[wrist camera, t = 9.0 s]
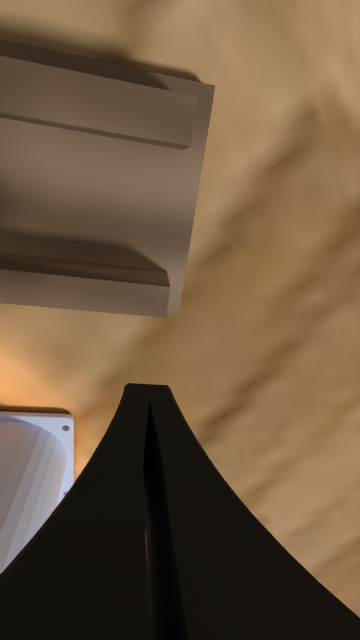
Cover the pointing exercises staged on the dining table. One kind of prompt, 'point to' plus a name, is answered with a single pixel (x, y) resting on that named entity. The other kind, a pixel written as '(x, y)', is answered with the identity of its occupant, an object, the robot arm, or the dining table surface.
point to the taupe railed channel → (96, 182)
